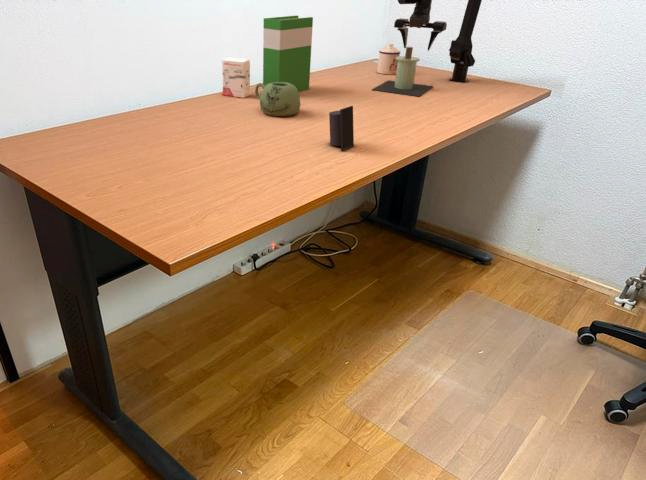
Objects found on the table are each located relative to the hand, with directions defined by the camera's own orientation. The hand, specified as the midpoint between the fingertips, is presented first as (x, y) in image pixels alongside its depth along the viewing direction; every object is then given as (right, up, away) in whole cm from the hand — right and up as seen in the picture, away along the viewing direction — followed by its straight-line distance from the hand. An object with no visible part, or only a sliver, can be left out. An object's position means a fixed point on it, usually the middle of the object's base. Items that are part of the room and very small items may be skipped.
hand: (416, 49), depth 194 cm
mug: (-54, -36, -36) cm, 74 cm away
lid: (-5, -7, -6) cm, 11 cm away
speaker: (-37, -53, -62) cm, 90 cm away
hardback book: (-51, -20, -10) cm, 55 cm away
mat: (-6, -16, -1) cm, 17 cm away
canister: (-5, -15, -1) cm, 16 cm away
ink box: (-68, -25, -19) cm, 75 cm away
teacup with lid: (-6, +1, +26) cm, 26 cm away
